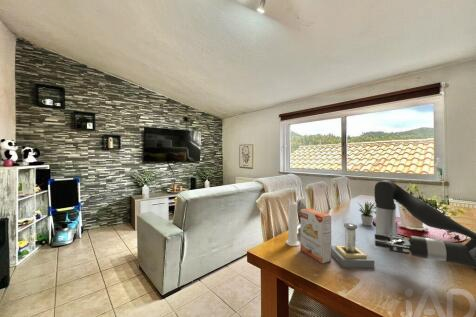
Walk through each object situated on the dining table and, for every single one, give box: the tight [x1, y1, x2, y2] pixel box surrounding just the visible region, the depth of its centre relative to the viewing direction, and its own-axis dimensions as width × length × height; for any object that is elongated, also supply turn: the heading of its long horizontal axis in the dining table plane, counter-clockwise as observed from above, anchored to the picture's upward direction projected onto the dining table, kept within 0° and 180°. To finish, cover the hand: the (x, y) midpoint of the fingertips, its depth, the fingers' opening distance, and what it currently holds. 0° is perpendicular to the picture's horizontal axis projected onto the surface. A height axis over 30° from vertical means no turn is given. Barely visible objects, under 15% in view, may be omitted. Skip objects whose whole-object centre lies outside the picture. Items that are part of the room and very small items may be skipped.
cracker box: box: [299, 207, 332, 265], centre depth 92 cm, size 14×6×21 cm, turn 23°
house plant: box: [357, 201, 376, 226], centre depth 135 cm, size 14×14×16 cm
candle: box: [285, 197, 300, 247], centre depth 105 cm, size 7×7×25 cm
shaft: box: [343, 222, 358, 253], centre depth 88 cm, size 5×5×16 cm
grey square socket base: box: [331, 245, 375, 269], centre depth 89 cm, size 13×13×4 cm
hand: (375, 239), depth 83 cm, fingers open, 8 cm apart
